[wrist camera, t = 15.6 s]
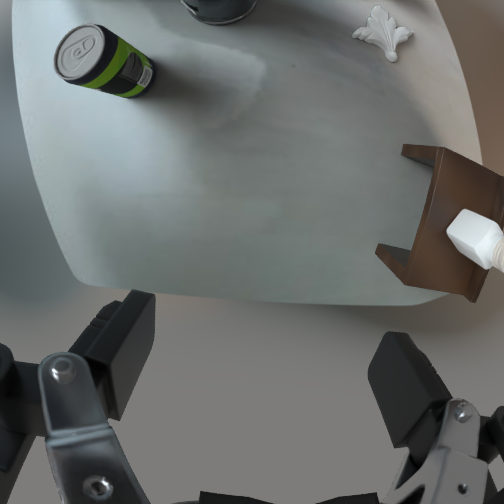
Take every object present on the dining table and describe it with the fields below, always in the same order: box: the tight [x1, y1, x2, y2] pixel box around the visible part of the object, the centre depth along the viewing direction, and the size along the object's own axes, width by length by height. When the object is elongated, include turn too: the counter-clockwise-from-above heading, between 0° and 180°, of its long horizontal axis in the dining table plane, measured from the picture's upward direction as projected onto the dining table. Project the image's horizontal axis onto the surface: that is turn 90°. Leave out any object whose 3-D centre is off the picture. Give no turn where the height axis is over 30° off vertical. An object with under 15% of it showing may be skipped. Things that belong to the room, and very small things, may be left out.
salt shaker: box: [446, 209, 504, 273], centre depth 24 cm, size 4×4×10 cm
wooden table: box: [375, 144, 504, 303], centre depth 32 cm, size 16×11×12 cm
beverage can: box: [54, 24, 156, 99], centre depth 26 cm, size 6×6×15 cm
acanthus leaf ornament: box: [352, 5, 413, 62], centre depth 29 cm, size 8×7×2 cm
